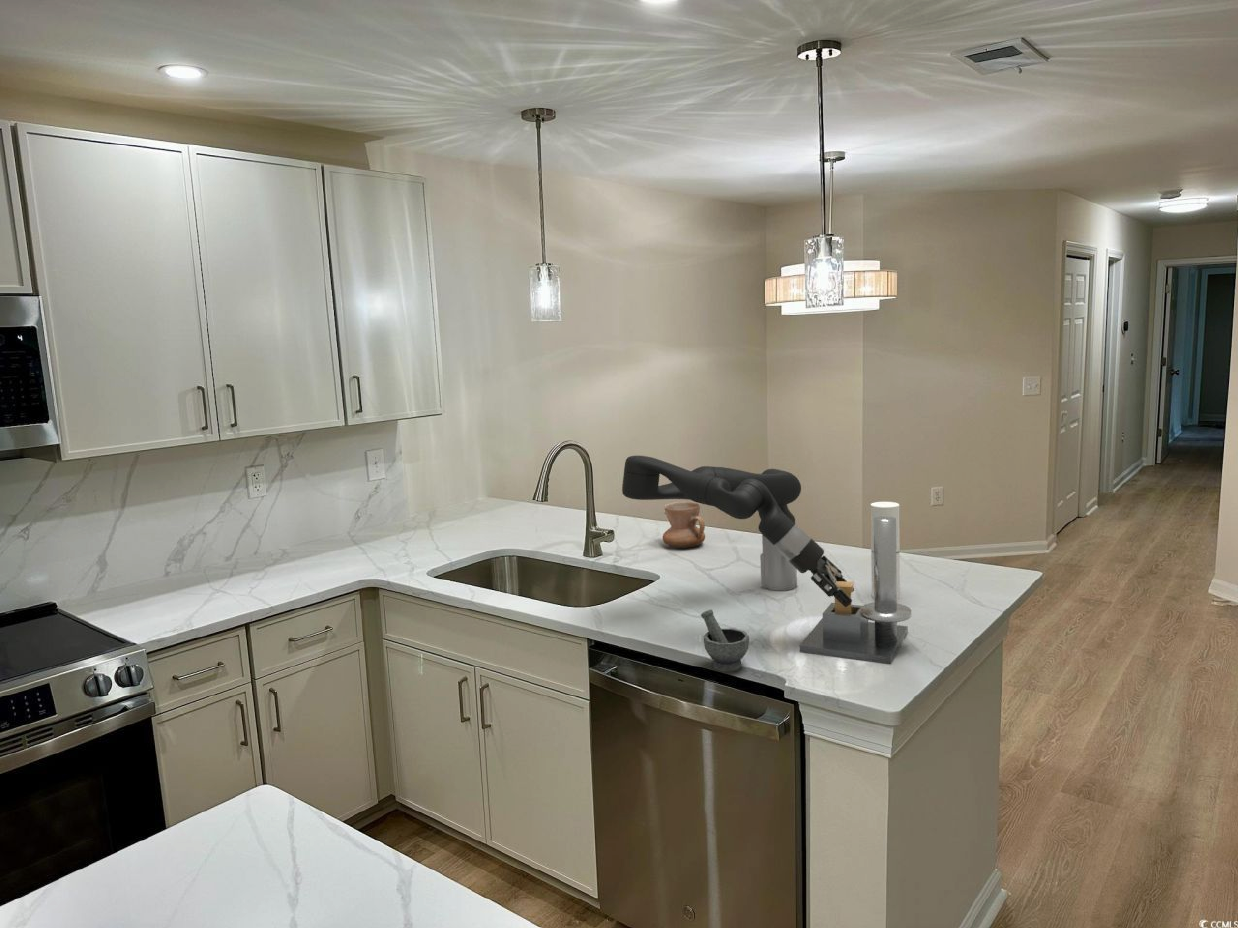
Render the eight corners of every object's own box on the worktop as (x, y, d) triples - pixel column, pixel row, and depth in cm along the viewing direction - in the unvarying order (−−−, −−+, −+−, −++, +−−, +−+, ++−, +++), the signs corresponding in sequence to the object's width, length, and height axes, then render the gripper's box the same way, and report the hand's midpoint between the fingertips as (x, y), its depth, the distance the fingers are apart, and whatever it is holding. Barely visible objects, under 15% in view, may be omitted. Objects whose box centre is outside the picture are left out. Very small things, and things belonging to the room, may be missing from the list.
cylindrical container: (881, 602, 223) (880, 508, 219) (866, 594, 230) (865, 503, 226) (905, 598, 225) (904, 505, 221) (889, 590, 232) (889, 500, 228)
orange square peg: (833, 635, 198) (832, 585, 196) (834, 630, 201) (833, 580, 199) (852, 637, 196) (852, 586, 194) (853, 631, 200) (853, 581, 198)
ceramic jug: (651, 545, 294) (649, 505, 291) (683, 537, 302) (681, 498, 300) (687, 554, 280) (685, 512, 277) (719, 546, 288) (717, 504, 286)
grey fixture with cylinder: (799, 651, 194) (796, 524, 189) (823, 622, 211) (820, 505, 206) (902, 665, 183) (902, 531, 178) (918, 633, 200) (918, 510, 195)
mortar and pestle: (758, 663, 188) (756, 611, 186) (733, 678, 181) (731, 624, 179) (716, 652, 196) (714, 602, 194) (691, 666, 189) (689, 614, 187)
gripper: (791, 551, 206) (841, 599, 204) (783, 567, 193) (836, 619, 191) (813, 530, 203) (863, 578, 202) (806, 545, 190) (860, 597, 188)
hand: (850, 598), depth 196 cm, fingers open, 8 cm apart
